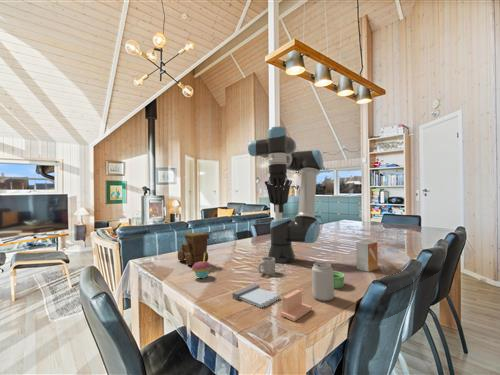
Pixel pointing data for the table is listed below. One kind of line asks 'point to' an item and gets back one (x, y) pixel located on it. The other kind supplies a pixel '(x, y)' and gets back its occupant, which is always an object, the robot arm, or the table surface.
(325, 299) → the can
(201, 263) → the cupcake
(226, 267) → the table surface
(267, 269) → the mug
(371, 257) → the small box
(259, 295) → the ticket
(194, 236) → the wooden toy train
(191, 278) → the table surface
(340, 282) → the ramekin
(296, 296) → the stub
